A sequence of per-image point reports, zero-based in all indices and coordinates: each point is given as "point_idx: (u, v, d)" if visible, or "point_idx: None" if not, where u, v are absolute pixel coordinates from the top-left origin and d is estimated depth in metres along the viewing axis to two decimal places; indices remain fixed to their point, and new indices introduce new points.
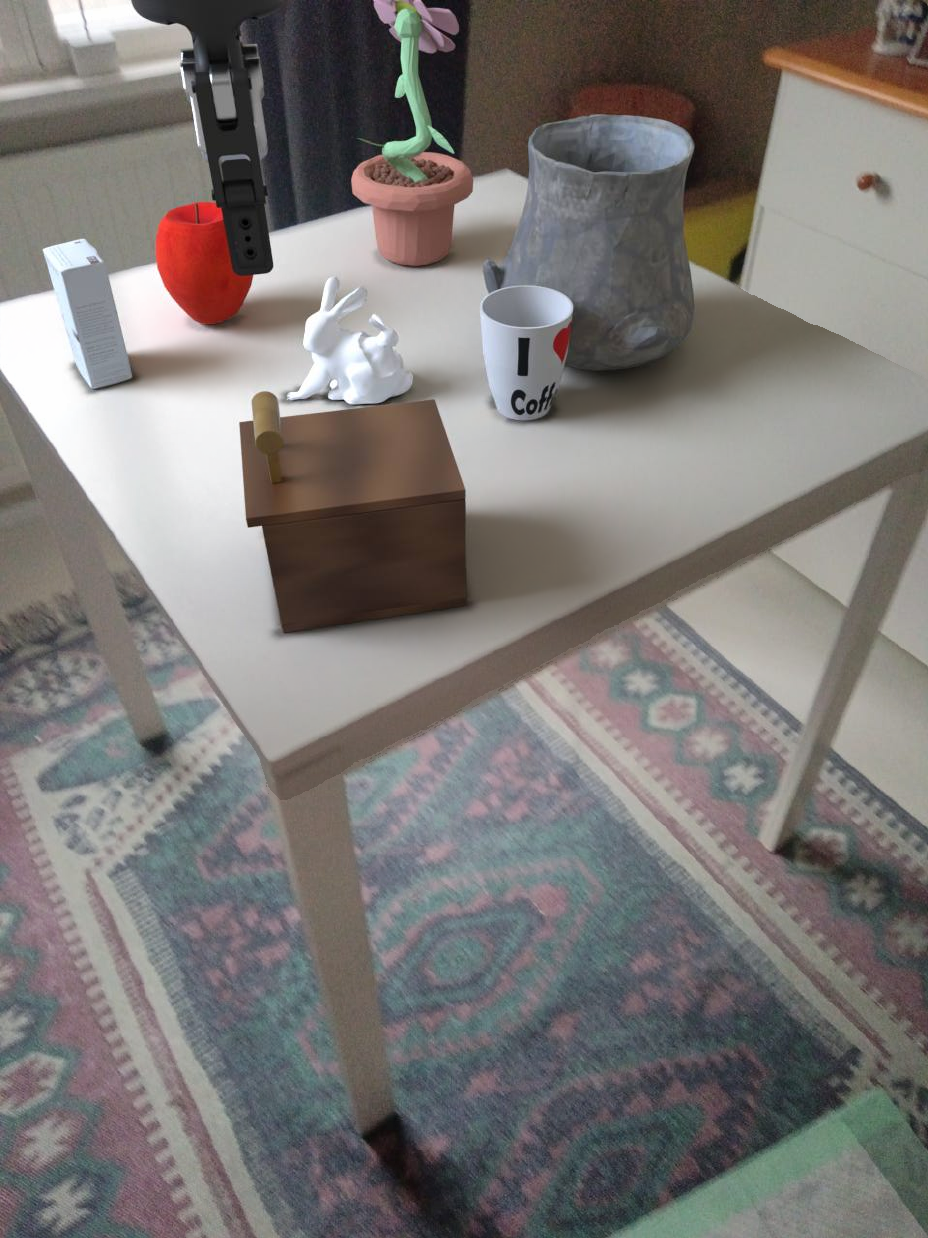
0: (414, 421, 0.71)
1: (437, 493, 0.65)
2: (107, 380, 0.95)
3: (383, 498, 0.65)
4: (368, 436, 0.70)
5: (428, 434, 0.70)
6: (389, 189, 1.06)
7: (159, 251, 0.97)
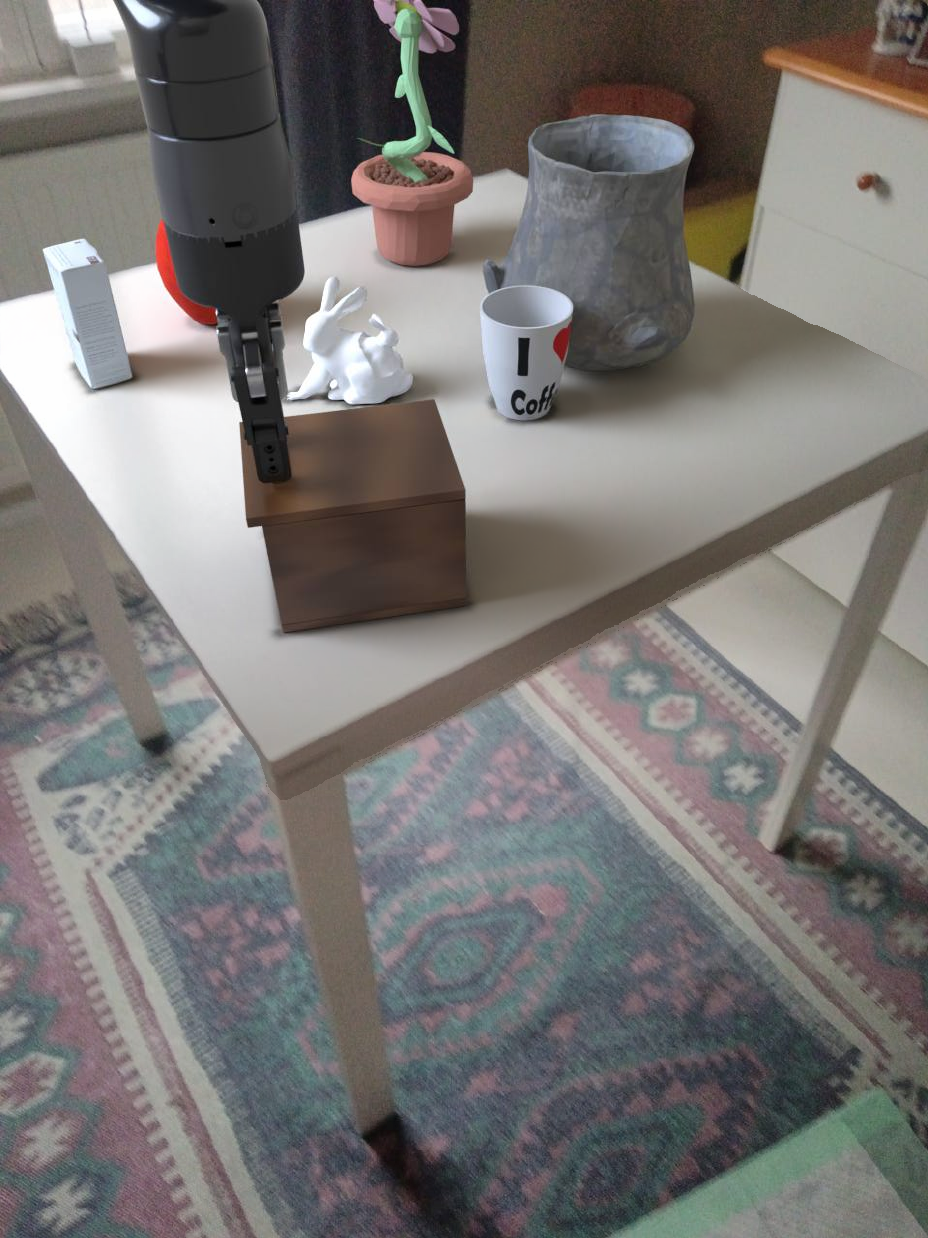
0: (414, 421, 0.71)
1: (437, 493, 0.65)
2: (107, 380, 0.95)
3: (383, 498, 0.65)
4: (368, 436, 0.70)
5: (428, 434, 0.70)
6: (389, 189, 1.06)
7: (159, 251, 0.97)
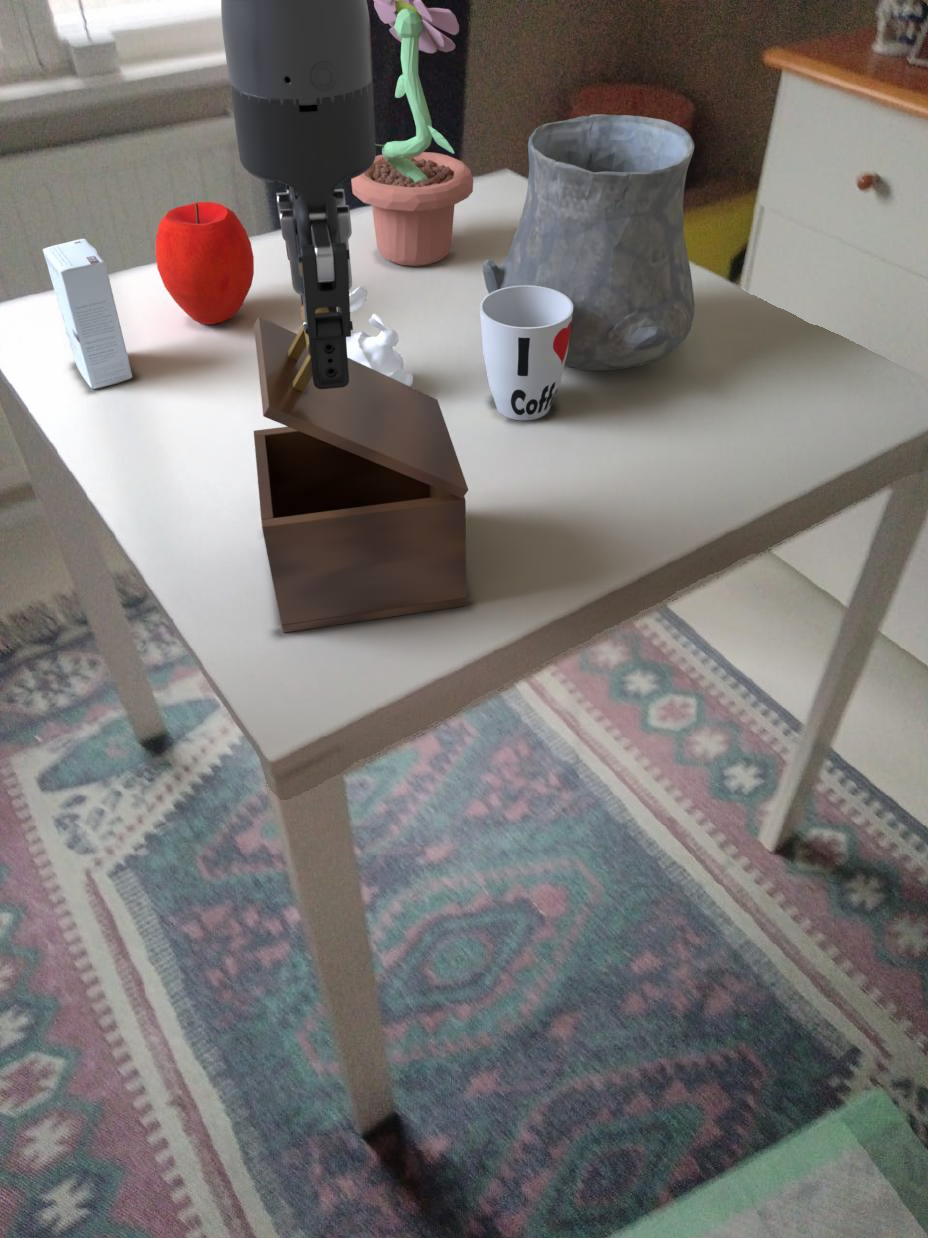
0: (421, 408, 0.71)
1: (444, 480, 0.64)
2: (107, 380, 0.95)
3: (397, 458, 0.63)
4: (381, 398, 0.68)
5: (434, 426, 0.70)
6: (389, 189, 1.06)
7: (159, 251, 0.97)
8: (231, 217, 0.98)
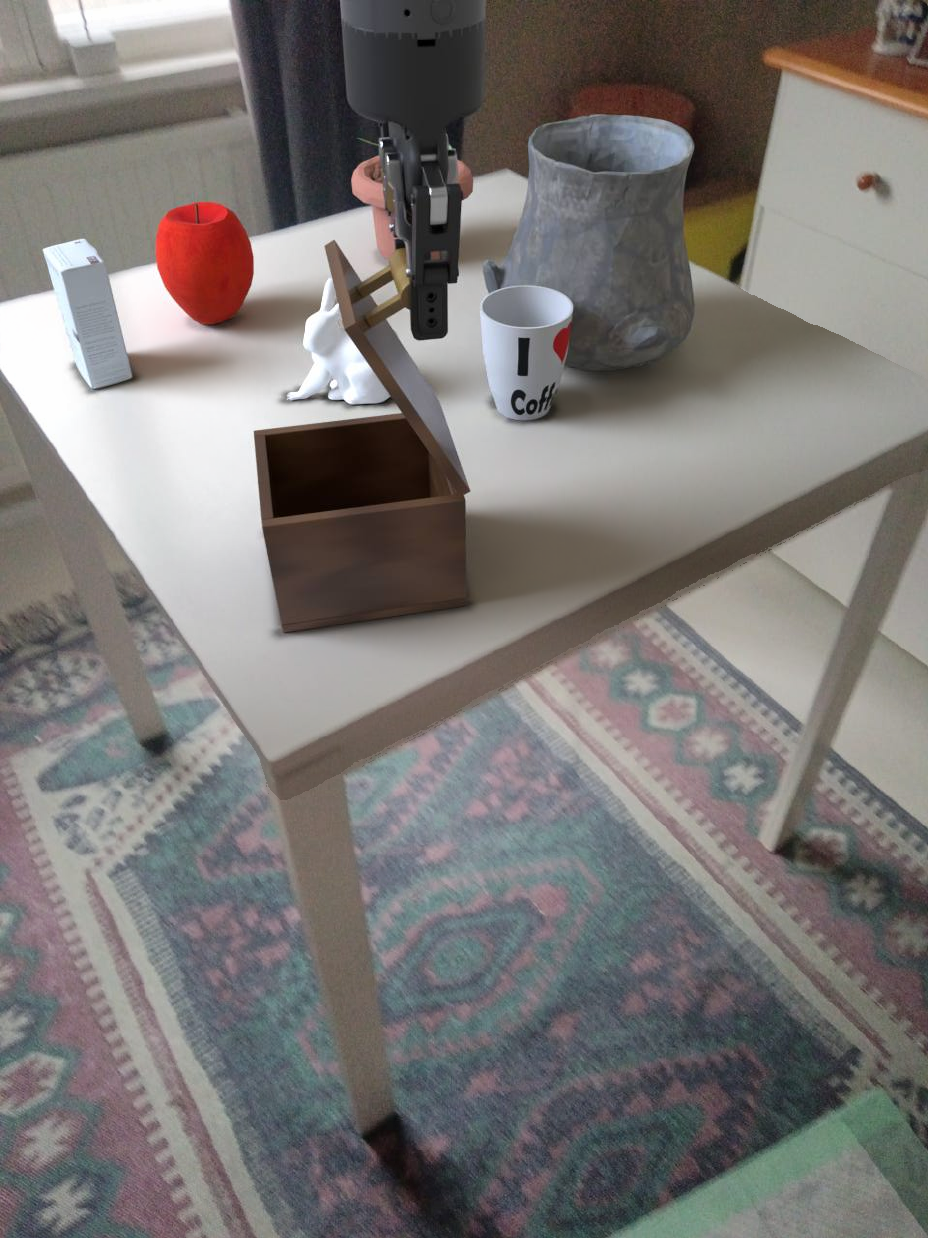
0: (433, 400, 0.70)
1: (457, 472, 0.64)
2: (107, 380, 0.95)
3: (430, 431, 0.62)
4: (412, 372, 0.67)
5: (442, 421, 0.69)
6: None
7: (159, 251, 0.97)
8: (231, 217, 0.98)
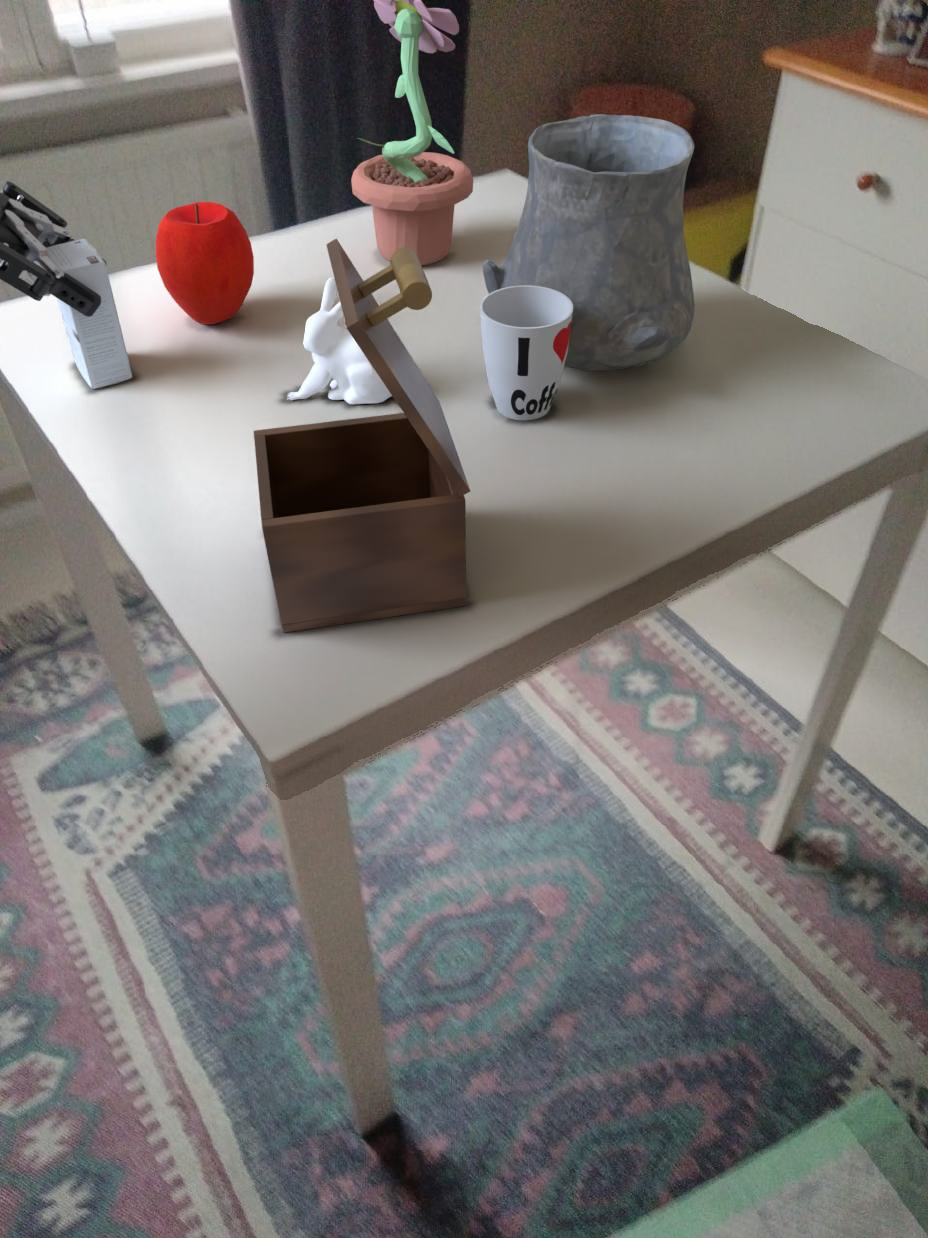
0: (433, 400, 0.70)
1: (457, 472, 0.64)
2: (107, 380, 0.95)
3: (431, 431, 0.62)
4: (412, 372, 0.67)
5: (442, 421, 0.69)
6: (389, 189, 1.06)
7: (159, 251, 0.97)
8: (231, 217, 0.98)
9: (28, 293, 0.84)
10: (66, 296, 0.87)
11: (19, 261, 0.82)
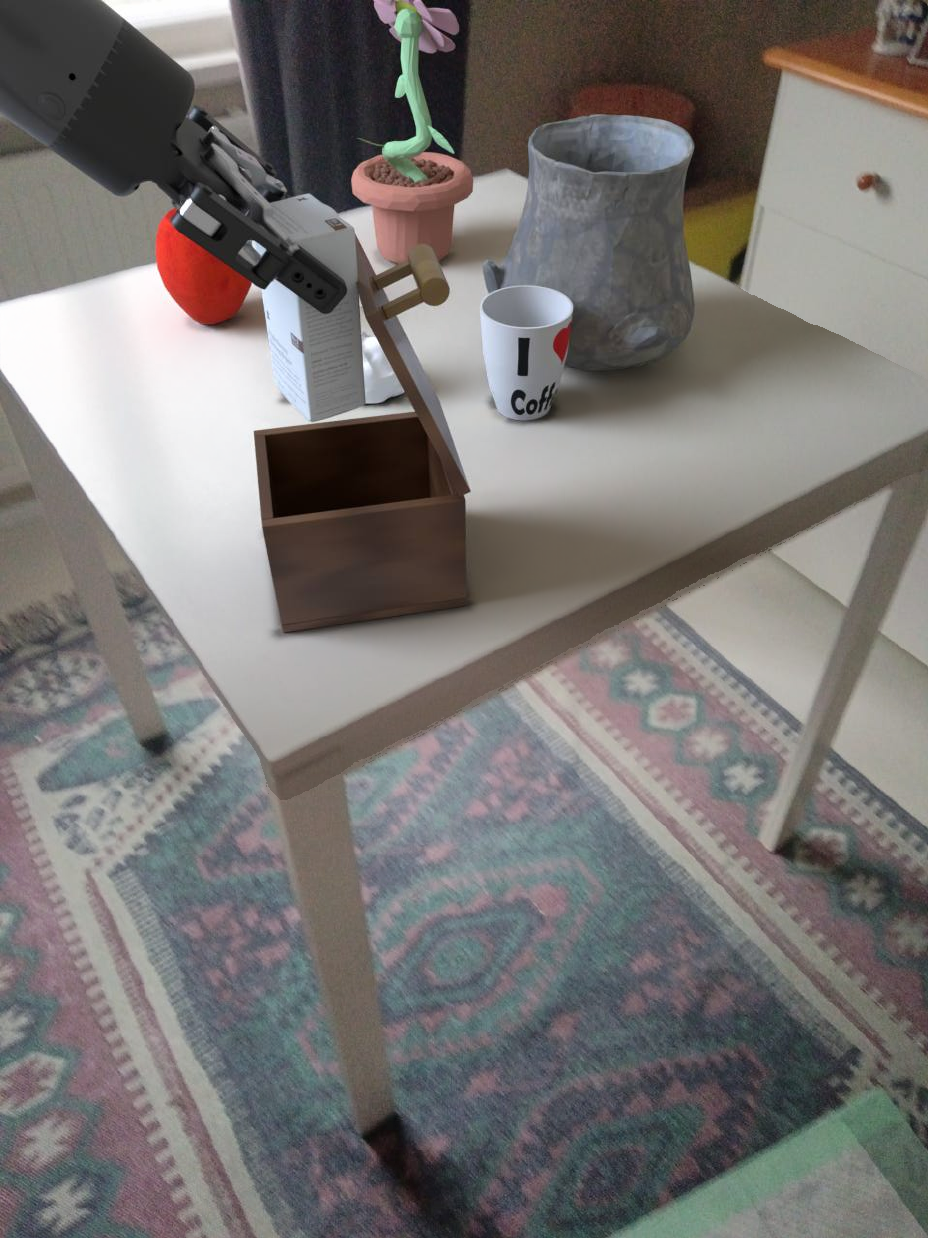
0: (435, 399, 0.70)
1: (459, 471, 0.64)
2: (332, 409, 0.63)
3: None
4: (419, 369, 0.67)
5: (444, 421, 0.69)
6: (389, 189, 1.06)
7: (159, 251, 0.97)
8: None
9: (251, 277, 0.52)
10: (301, 282, 0.55)
11: (244, 224, 0.50)
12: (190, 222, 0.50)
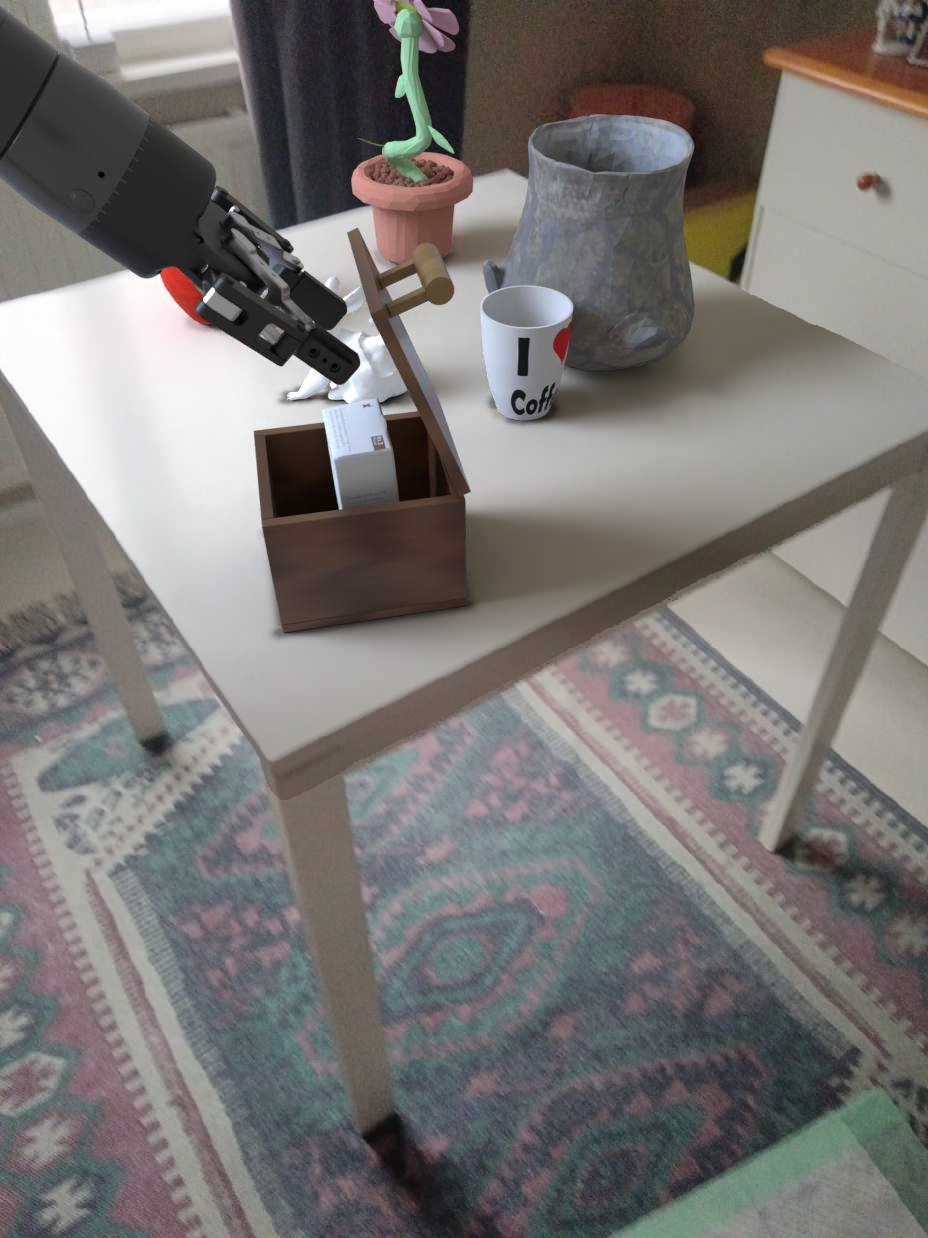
0: (436, 399, 0.70)
1: (460, 471, 0.64)
2: None
3: (440, 427, 0.62)
4: (420, 368, 0.67)
5: (444, 421, 0.69)
6: (389, 189, 1.06)
7: None
8: None
9: (270, 356, 0.55)
10: (316, 357, 0.58)
11: (265, 310, 0.53)
12: (213, 309, 0.53)
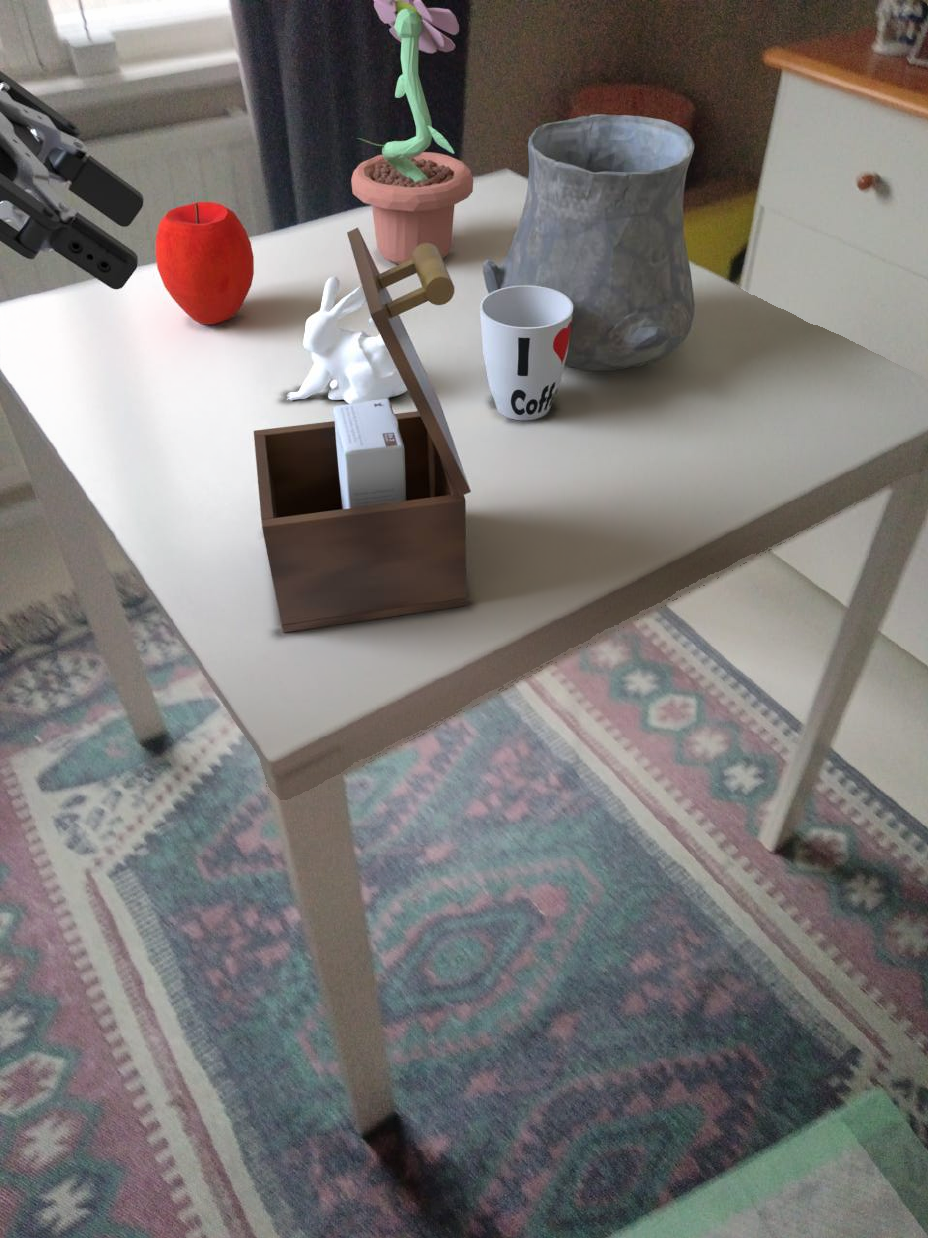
0: (436, 399, 0.70)
1: (460, 471, 0.64)
2: None
3: (440, 427, 0.62)
4: (420, 368, 0.67)
5: (444, 421, 0.69)
6: (389, 189, 1.06)
7: (159, 251, 0.97)
8: (231, 217, 0.98)
9: (11, 244, 0.48)
10: (79, 253, 0.50)
11: None
12: None
